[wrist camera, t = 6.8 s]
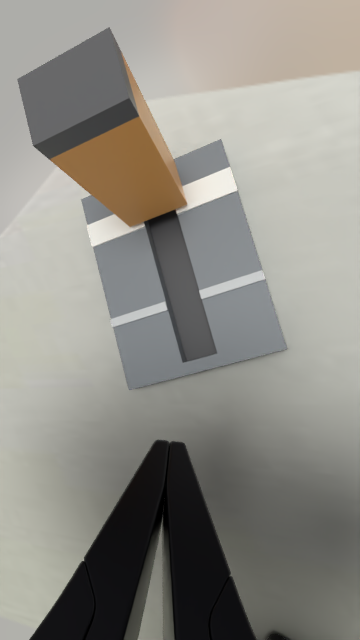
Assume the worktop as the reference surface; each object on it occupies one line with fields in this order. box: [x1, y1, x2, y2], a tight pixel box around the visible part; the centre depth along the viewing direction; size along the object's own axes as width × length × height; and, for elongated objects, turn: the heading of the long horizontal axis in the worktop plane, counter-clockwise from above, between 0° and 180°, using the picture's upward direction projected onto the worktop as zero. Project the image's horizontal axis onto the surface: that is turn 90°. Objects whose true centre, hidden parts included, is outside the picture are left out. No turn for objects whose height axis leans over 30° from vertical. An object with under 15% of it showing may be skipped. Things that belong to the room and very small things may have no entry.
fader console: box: [81, 139, 287, 390], centre depth 18 cm, size 12×9×1 cm
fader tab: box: [18, 28, 187, 227], centre depth 14 cm, size 2×4×9 cm
